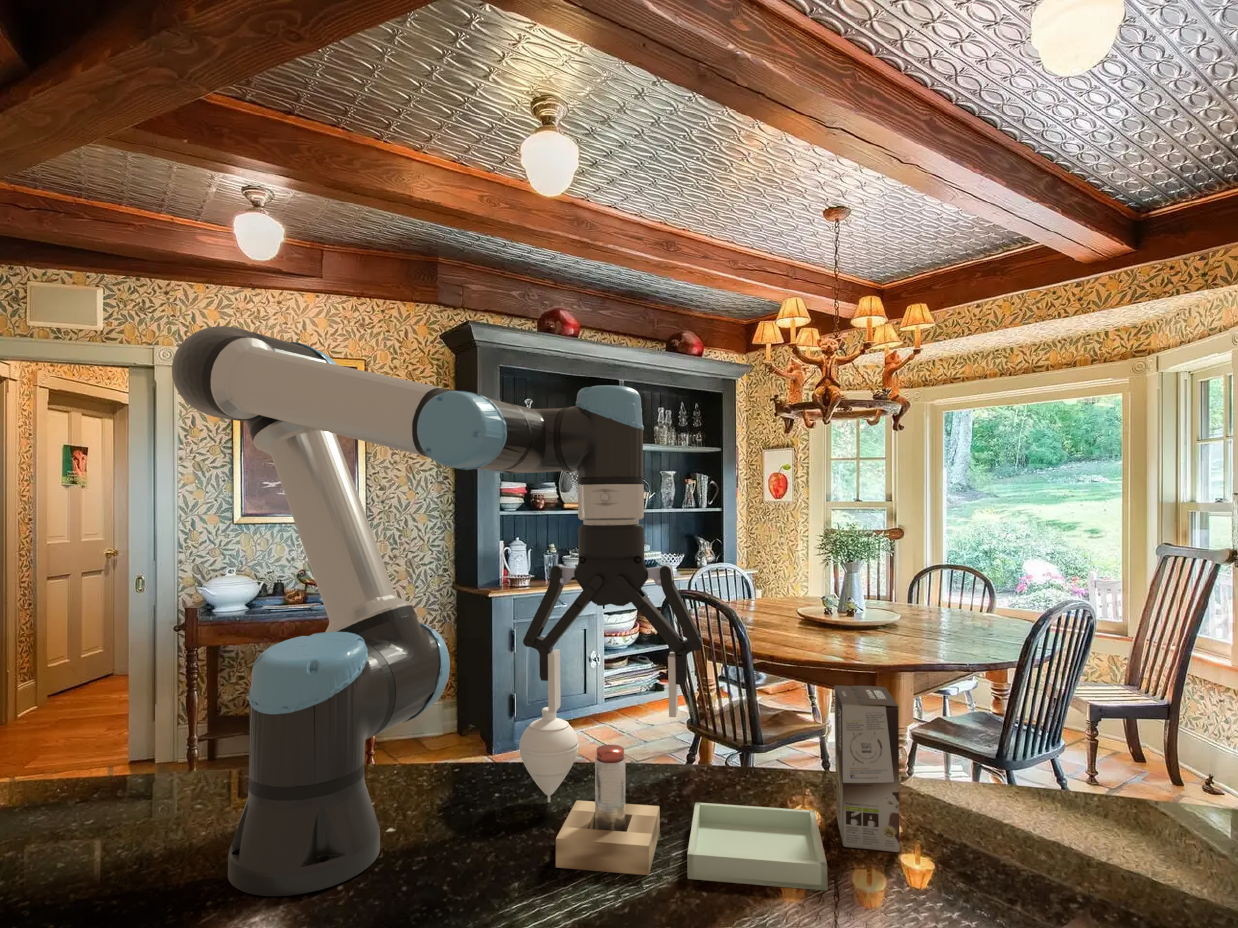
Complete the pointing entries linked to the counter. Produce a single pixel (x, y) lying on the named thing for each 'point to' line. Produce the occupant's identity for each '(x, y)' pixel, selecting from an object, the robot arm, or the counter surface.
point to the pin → (610, 788)
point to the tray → (756, 846)
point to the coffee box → (867, 767)
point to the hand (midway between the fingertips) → (613, 711)
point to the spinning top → (548, 751)
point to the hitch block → (609, 840)
